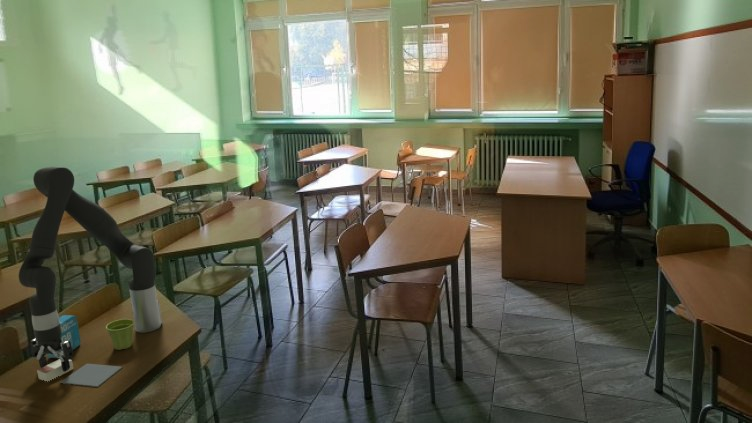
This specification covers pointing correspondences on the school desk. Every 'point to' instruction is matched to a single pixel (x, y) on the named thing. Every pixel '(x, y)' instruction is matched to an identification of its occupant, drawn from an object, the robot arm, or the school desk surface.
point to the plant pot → (121, 333)
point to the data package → (68, 332)
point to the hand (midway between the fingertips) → (55, 369)
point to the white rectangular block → (52, 370)
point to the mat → (91, 375)
